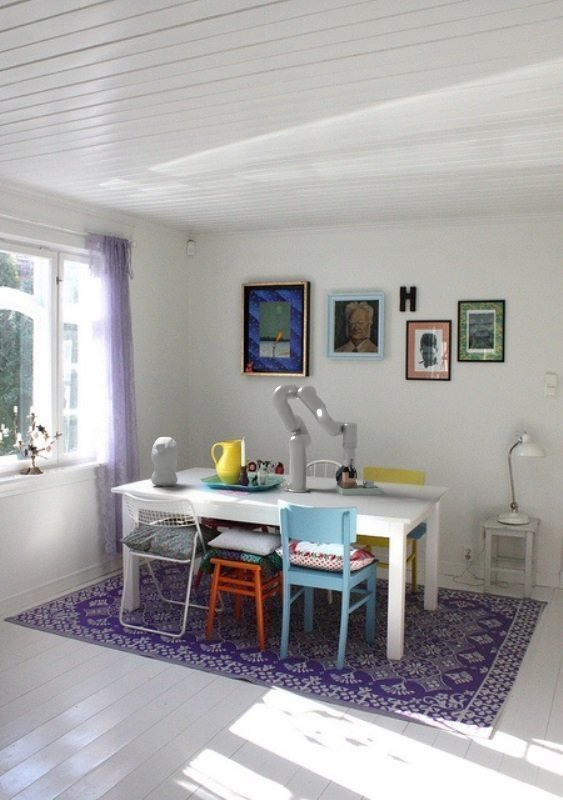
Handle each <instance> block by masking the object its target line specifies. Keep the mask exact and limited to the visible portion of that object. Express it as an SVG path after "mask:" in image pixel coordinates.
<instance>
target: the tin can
mask: <svg viewBox="0 0 563 800" xmlns="http://www.w3.org/2000/svg"><path fill="white" fill-rule="evenodd" d="M362 485H363V488H374V485H375V481H374V480H363V481H362Z"/></svg>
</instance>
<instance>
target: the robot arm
mask: <svg viewBox="0 0 563 800" xmlns="http://www.w3.org/2000/svg"><path fill="white" fill-rule="evenodd" d="M271 396H272V397H271V398H272V399H271V400H272V401H271V402H272V405H273V407H274V410H275V412H276V414H277V418H278V419H279V421H280V423H281V424H280V425H281V426H282V429H283V430H284V432H286V433H288V434H291V437H290V438H289V440H288V453H289V462H288V463H289V472H288V473H289V476H288V477H289V479H288V480H289V481H288V482H286V483H280V487H281V488H286V489H285V490H286V492H289V493H307V492H309V491H310V488H309V487H307V474H308V473H307V465H308V464H307V459H308V457H307V448H308V449H309V447H310V446H311V444H312V439H311V434H310V432H309V431H308V428H307V426H306V423H305V422H304V420H303V418H302V417H300V416H299V415H298V414H297V415H296V414H294V411H293V408H292V406H291V405H290V404H289V402H288V400H290V399H291V400H300V401H301V402H302V404H304V406H305V407H306V408H307V409H308V410H309V411H310V413H311V414H312V415H313V416H314V418H315V420H316V421H317V424H318V425H319V426H320V427H321V429H323V431H324V432H325V433H326V434H327V435H328V436H330V437H337V436H340V435H342V448H343V449H342V450H343V451H342V462H341V463H342V465H344V472H349V478H355V469H356V449H358V448H357V444H358V443H357V442H358V441H357V440H358V434H357V433H358V424H357V423H356V422H343V421H335V420H334V419H333V418H332V416H331V415H330V414H329V412H328V411H327V406H326V404H325V402H324V401H323V400H322V398H320V397H319V395H318V394H317V390H316V388H315V387H314V386H312V385H311V384H310V385H308V384H295V383H285V384H284V383H282V384H281V385H278V386H277V387H276V388H275V389H274V391H273V393H272V395H271ZM350 467H351V468H350Z"/></svg>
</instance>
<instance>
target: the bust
mask: <svg viewBox="0 0 563 800" xmlns="http://www.w3.org/2000/svg"><path fill="white" fill-rule="evenodd" d="M178 457H179V450H178V442H177V441H175V440H174V438H173V437H169V436H161V437H158V438H157V439H156V440H155V442H154V443H153V445H152V450H151V455H150V459H151V462H152V463H153V473H152V475H151V483H152V485H155V487H156V486H157V487H173V486H176V485H177V483H178V479H179V478H178V476H177V473H176V472H177V469H178V459H179V458H178Z"/></svg>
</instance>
